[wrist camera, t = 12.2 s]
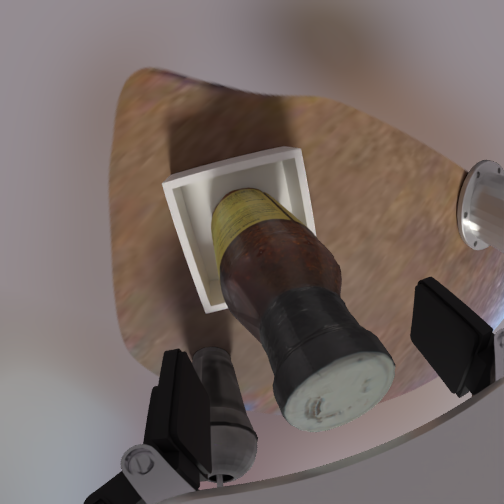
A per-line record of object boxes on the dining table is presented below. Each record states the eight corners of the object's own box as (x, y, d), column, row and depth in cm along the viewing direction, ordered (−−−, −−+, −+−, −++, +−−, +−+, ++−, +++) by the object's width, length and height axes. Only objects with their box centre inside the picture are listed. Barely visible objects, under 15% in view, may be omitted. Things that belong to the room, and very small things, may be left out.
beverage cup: (249, 342, 32) (289, 509, 14) (234, 384, 35) (259, 530, 16) (185, 332, 30) (181, 511, 12) (177, 377, 33) (175, 530, 15)
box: (283, 146, 25) (300, 148, 20) (305, 258, 29) (322, 281, 25) (170, 174, 24) (161, 183, 20) (205, 285, 29) (205, 313, 24)
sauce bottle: (201, 239, 26) (198, 443, 8) (226, 174, 24) (281, 292, 6) (266, 261, 28) (351, 448, 10) (294, 201, 26) (448, 337, 8)
